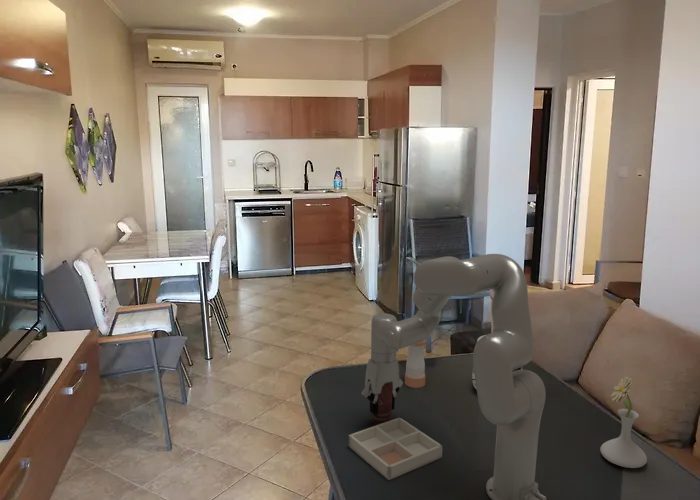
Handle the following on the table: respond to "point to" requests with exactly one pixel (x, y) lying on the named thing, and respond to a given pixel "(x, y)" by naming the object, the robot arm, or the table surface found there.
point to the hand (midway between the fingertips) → (382, 410)
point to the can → (384, 405)
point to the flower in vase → (624, 433)
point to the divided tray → (395, 447)
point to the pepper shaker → (415, 365)
